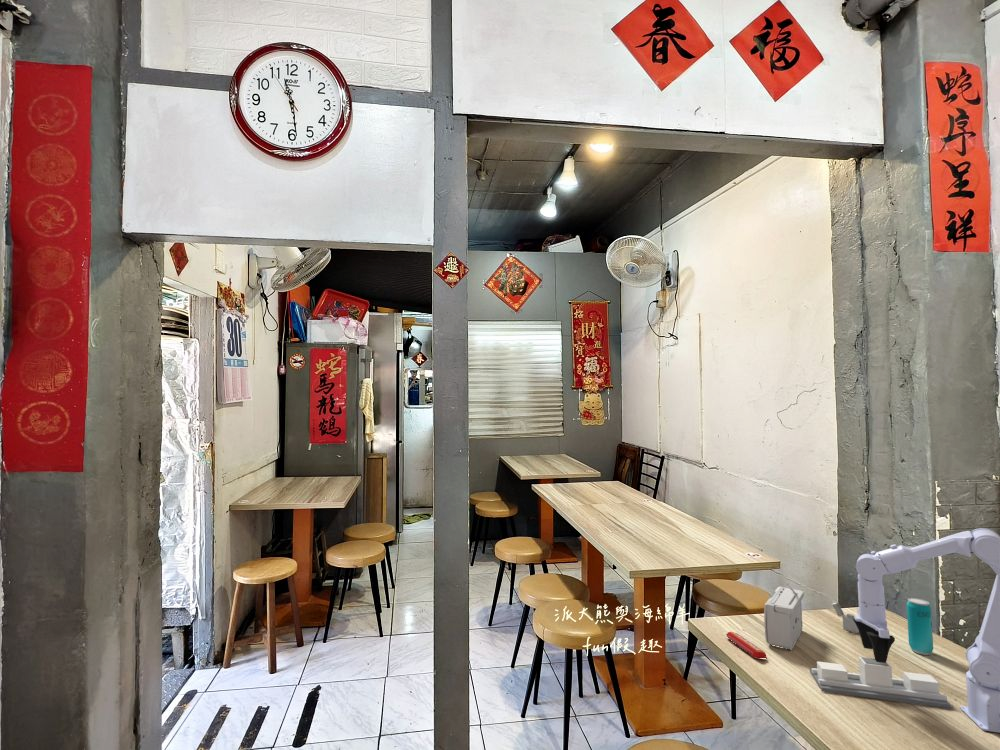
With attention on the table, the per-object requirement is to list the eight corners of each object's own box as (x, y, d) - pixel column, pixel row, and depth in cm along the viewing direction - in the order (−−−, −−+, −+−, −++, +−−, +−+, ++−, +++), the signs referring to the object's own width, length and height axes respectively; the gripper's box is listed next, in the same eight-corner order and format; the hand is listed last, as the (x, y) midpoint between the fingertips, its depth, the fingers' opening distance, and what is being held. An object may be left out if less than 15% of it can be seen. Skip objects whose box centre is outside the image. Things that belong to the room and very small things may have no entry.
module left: (848, 685, 134) (847, 671, 134) (822, 682, 135) (821, 668, 136) (842, 677, 138) (841, 664, 138) (817, 674, 139) (816, 661, 140)
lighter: (859, 632, 168) (858, 607, 169) (857, 633, 167) (856, 608, 167) (834, 624, 174) (833, 600, 174) (833, 626, 173) (831, 602, 173)
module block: (892, 691, 131) (891, 666, 131) (865, 687, 133) (864, 663, 133) (886, 683, 135) (884, 659, 135) (859, 679, 136) (858, 656, 137)
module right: (939, 697, 128) (938, 682, 128) (911, 693, 130) (910, 679, 130) (930, 688, 132) (930, 675, 132) (903, 685, 134) (902, 671, 134)
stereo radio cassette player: (778, 624, 174) (776, 564, 176) (806, 630, 169) (803, 569, 171) (764, 646, 158) (761, 580, 160) (794, 654, 153) (791, 586, 154)
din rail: (951, 708, 125) (950, 700, 125) (821, 691, 133) (821, 683, 133) (929, 687, 135) (929, 679, 135) (810, 672, 142) (809, 665, 143)
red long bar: (769, 662, 149) (769, 651, 149) (758, 663, 148) (757, 652, 148) (734, 638, 164) (734, 628, 165) (724, 639, 164) (723, 629, 164)
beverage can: (938, 657, 151) (935, 605, 152) (916, 655, 152) (913, 603, 153) (926, 648, 157) (923, 598, 158) (905, 646, 158) (902, 596, 159)
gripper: (844, 591, 143) (846, 640, 142) (865, 610, 129) (868, 665, 128) (873, 593, 141) (876, 644, 140) (897, 613, 127) (901, 669, 126)
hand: (874, 654), depth 134 cm, fingers open, 7 cm apart
